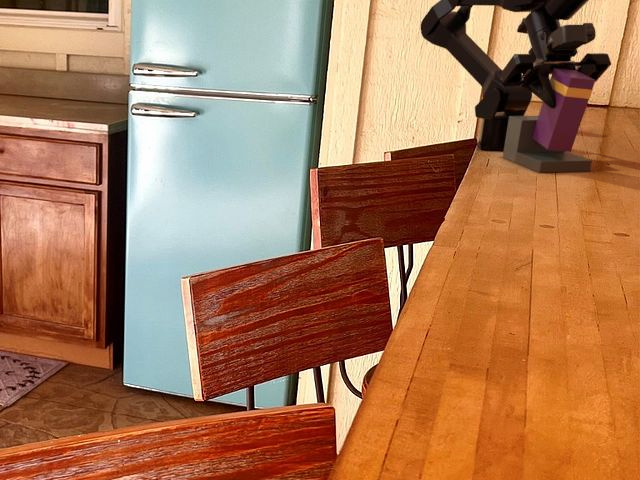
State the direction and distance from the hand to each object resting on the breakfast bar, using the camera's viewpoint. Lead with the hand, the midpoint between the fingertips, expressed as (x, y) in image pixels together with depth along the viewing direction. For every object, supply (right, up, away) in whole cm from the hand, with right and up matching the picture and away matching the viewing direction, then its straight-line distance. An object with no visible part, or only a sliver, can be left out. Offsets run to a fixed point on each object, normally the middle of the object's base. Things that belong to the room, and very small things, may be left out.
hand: (566, 106), depth 161 cm
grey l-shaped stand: (0, -9, +8) cm, 12 cm away
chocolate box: (-1, -6, +5) cm, 7 cm away
